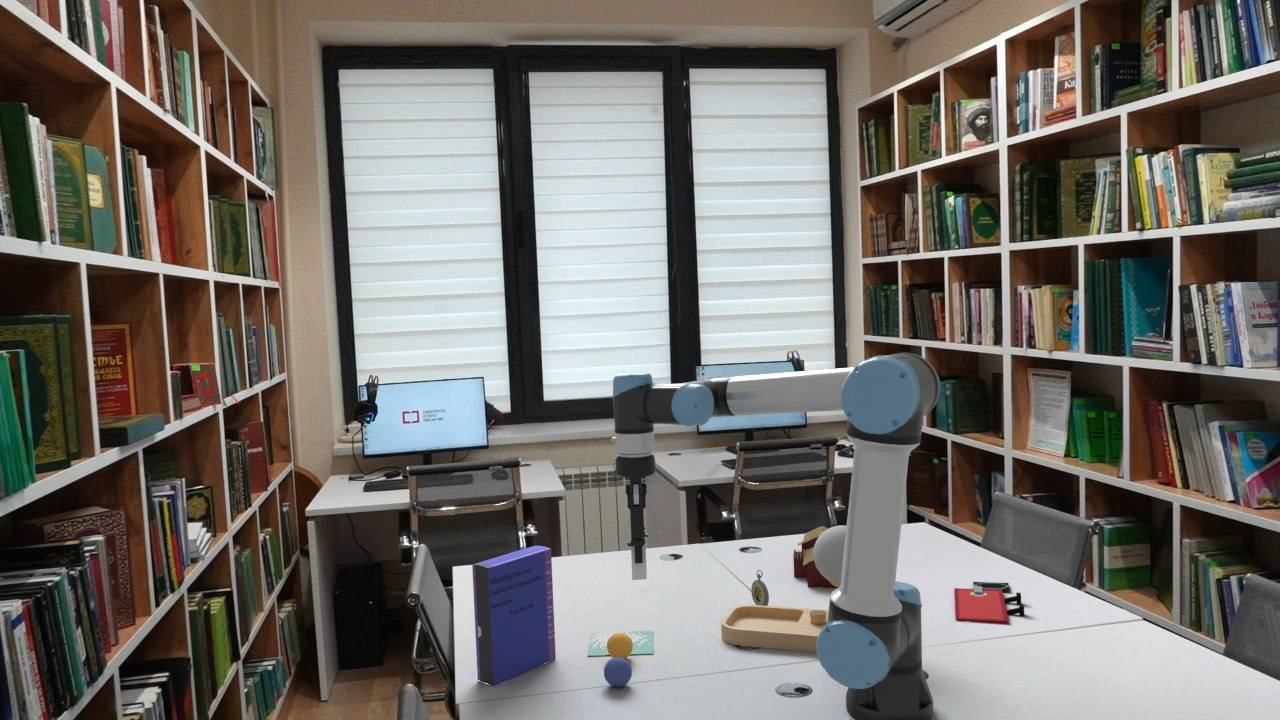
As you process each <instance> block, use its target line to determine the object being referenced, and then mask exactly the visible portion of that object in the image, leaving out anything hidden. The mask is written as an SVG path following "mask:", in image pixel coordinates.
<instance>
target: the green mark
mask: <svg viewBox="0 0 1280 720" xmlns="http://www.w3.org/2000/svg"><path fill="white" fill-rule="evenodd" d="M621 632H622V633H625V632H626V631H621ZM638 632H640V633H638ZM596 633H597V634H598V633H599V632H596ZM602 633H603V632H602ZM606 633H607V631H606ZM633 633H636V634H635V635H638V634H643V635H639V636H644V635H647V637H642V638H643V639H647V640H648V641H644V642H645V643H641V644H642V645H639V646H641V647H639V646H638V645H637V644H639V643H640V641H641V640H643V639H639V641H636V643H635V642H632V643H633V649H632V652H631V654H630V655H629V656H639V655H640V654H641V656H643V655H644V654H648V655H654V631H653V630H639V631H638V630H635V631H634V630H633ZM633 633H628V634H633ZM603 634H604V633H603ZM594 635H596V634H594ZM591 636H593V635H591V634H590V637H591ZM631 636H632V635H631ZM596 637H597V636H596ZM594 638H595V637H593V639H594ZM634 638H635V637H634ZM649 638H651V639H649ZM591 640H592V639H591V638H590V640H589V642H590V641H591ZM598 640H599V638H598ZM598 640H596V642H597V641H598ZM631 640H632V638H631ZM596 642H595V641H593V643H591V644H590V643H589V645H588V652H587V657H588V656H591V657H607V656H606V655H609V653H608V652H607V650H606V648H607V646H605V645H604V646H605V647H602V648H604V649H602V648H600V644H601V643H600V642H599V644H597V645H598V646H596V648H595V647H593V645H594V644H595V643H596ZM602 642H603V641H602ZM649 643H650V644H649ZM648 644H649V645H648ZM592 647H593V648H594V649H593V648H592ZM590 650H591V651H590Z"/></svg>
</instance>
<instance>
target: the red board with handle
mask: <svg viewBox="0 0 1280 720" xmlns="http://www.w3.org/2000/svg"><path fill="white" fill-rule="evenodd" d="M972 583H973V584H972V585H973V588H959V587H957V588H955V587H954V591H953V592H954V614H955V621H956V620H959V621H958V622H965V621H970V622H971V623H981V622H982V623H983V624H996V623H997V625H998V624H999V625H1000V624H1001V625H1009V616H1010V615H1011V616H1012V615H1017V614H1019V617H1024V618H1025V604H1024V603H1022V595H1021V592H1016V593H1015V594H1016V595H1014V596H1010V597H1004V592H1010V591H1011V589H1010V585H1009V582H995V581H994V582H991V581H972ZM1013 602H1014V603H1015V602H1016V605H1017V606H1018V607H1015V608H1010V609H1009V608H1008V609H1007V606H1006V604H1009V603H1013ZM970 622H969V623H970Z"/></svg>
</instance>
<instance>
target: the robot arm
mask: <svg viewBox="0 0 1280 720" xmlns="http://www.w3.org/2000/svg"><path fill="white" fill-rule="evenodd" d="M940 392H941V383H940V377H939V375H938V372H937V370H936V369H935V367H934V366H933V365H932V364H931V362H929V361H928V360H926V358H924V357H922V356H920V355H918V354H916V353H915V354H914V353H911V352H896V353H892V354H888V355H887V354H886V355H885V354H884V355H881V354H879V355H876V356H875V355H874V356H872V357H870V358H867V359H865V360H862V362H860V363H859V364H857V365H855V366H852V367H840V368H829V369H825V368H824V369H816V370H815V369H814V370H800V371H790V372H776V373H764V374H751V375H750V374H749V375H739V376H738V375H737V376H725V377H724V376H715V377H714V376H713V377H708V378H705V379H700V380H694V381H688V382H681V383H655V382H654V381H653V377H652V375H651V373H650V372H643V371H642V372H641V371H640V372H622V373H617V374H616V375H614V377H613V379H612V397H611V398H612V404H613V405H612V408H613V419H614V420H613V421H614V423H613V424H614V436H615V437H614V436H613V437H611V442H612V443H615V445H614V448H615V449H614V450H615V453H616V454H617V455H616V457H614V458H615V459H614V460H615V474H616V475H617V476H619V477H622V478H629V483H625V495H626V496H627V509H629V512H630V513H629V516H630V538H631V539H630V542H627V547H630V551H631V552H630V554H631V555H630V556H631V558H630V559H631V577H632V578H631V579H632V581H635V580H637V581H638V580H640V581H641V580H647V573H648V572H647V571H648V570H647V549H646V543H647V542H646V538H648V537H649V532H645V531H646V527H645V515H644V509H646V507H647V506H646V505H647V503H646V501H647V500H646V499H647V498H646V495H647V487H648V486H647V482H644V481H643V478H644V477H650V476H653V475H654V474H656V455H654V454H653V453H654V452H655V450H656V449H655V448H656V447H655V446H656V445H655V443H656V442H655V429H654V428H655V427H654V425H658V424H660V425H675V426H676V425H677V426H684V427H691V426H703V425H706V424H707V423H708V422H709V420H710V419H711V418H720V417H734V416H748V415H749V416H750V415H769V414H771V415H772V414H774V415H775V414H792V413H813V412H815V413H817V412H832V411H833V412H835V411H837V412H838V411H843V412H844V415H845V416H846V418H847V423H846V424H847V426H846V434H845V435H846V437H847V439H849V440H850V442H851V443H852V444H853V447H854V449H853V450H854V451H853V460H852V471H851V472H852V473H851V479H850V491H849V501H848V509H847V520H846V526H847V528H846V537H845V547H844V557H843V567H842V577H841V586H840V587H839V588H837V589H836V588H835V590H833V591H832V592H831V593H830V596H829V604H828V605H829V606H828V610H829V612H828V621H827V624H826V625H825V626H824V627H823V628H822V629H821V632H820V634H819V636H818V638H817V643H816V651H817V653H816V655H817V659H818V661H819V663H820V665H821V667H822V668H823V669H824V670H825V672H826V673H827V675H828V676H829V677H830V678H831V679H832V680H833V681H834V682H837V683H838V684H839V685H842V686H844V687H847V690H846V695H845V707H846V712H847V713H848V714H849V715H850V716H851V717H853V718H854V719H856V720H930V719H931V720H932V719H933V717H934V710H935V709H934V699H933V696H932V694H931V691H930V690H931V689H930V687H929V685H928V682H927V679H926V676H925V674H924V670H923V647H922V646H923V641H922V638H923V637H922V607H923V604H922V601H921V600H922V598H921V592H920V591H919V589H918V587H916V586H915V585H913V584H909V583H907V582H902V581H896V579H897V571H898V560H899V549H900V542H901V541H900V540H901V530H902V524H903V523H902V522H903V514H904V513H903V512H904V505H905V504H904V503H905V494H906V488H907V487H906V486H907V477H908V466H909V460H910V459H909V457H910V453H911V452H912V451H913V450H915V449H917V447H919V446H920V445H921V440H922V432H923V431H922V430H923V423H924V417H925V416H926V415H927V414H928V413H930V412H931V411H932V410H933V408H934V407H935V406H936V404H937V402H938V400H939V398H940V394H941V393H940Z"/></svg>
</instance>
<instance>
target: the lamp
mask: <svg viewBox="0 0 1280 720" xmlns="http://www.w3.org/2000/svg"><path fill="white" fill-rule="evenodd" d="M828 528H829V529H827V530H825V531H824V532H823V533H822V534H821V535H820V536H819V537H818V539H817V541H816V543H815V546H814V551H813V556H814V562H815V565H816V567H817V569H818V571H819V572H820V573H821V575H822V576H823V577H825V578H826V579H827V580H829V582H830V583H831V584H832V585H834V586H836V587H840V586H841V577H842V567H843V557H844V547H845V537H846V528H847V525H835V526H831V527H828ZM828 612H829V609H818V608H817V609H816V608H814V609H813V608H799V607H790V606H789V607H788V606H786V607H785V606H772V605H771V606H770V605H767V606H761V605H756V604H747V605H738V606H735V607H733V608H731V609H729V610H728V611H727V612H726V613H725V615H724V617H723V618H722V619H721V621H720V624H721V625H720V627H721V628H720V629H721V640H722V641H723V642H725V643H727V644H729V645H732V646H737V645H739V646H740V647H747V646H749V648H750V647H751V648H759V647H761V648H760V649H770V648H771V649H772V650H782V649H783V651H793V650H794V651H795V652H806V653H815V654H817V651H816V643H817V638H818V636H819V634H820V632H821V629H822V628H823V627H824V626H825V625H826V624H827V621H828ZM771 649H770V650H771Z"/></svg>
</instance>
